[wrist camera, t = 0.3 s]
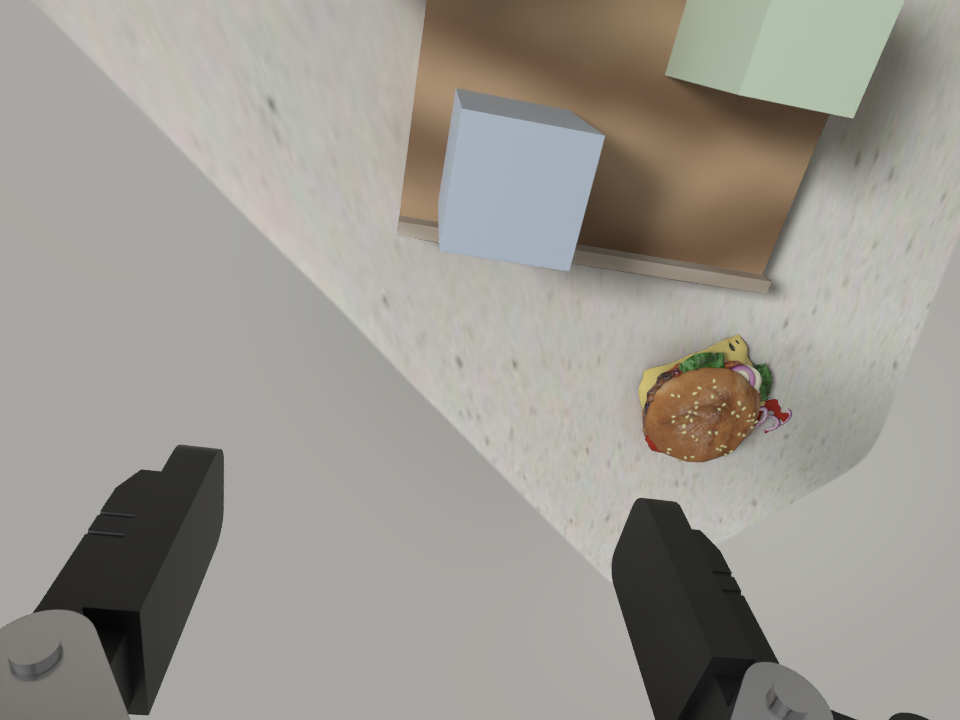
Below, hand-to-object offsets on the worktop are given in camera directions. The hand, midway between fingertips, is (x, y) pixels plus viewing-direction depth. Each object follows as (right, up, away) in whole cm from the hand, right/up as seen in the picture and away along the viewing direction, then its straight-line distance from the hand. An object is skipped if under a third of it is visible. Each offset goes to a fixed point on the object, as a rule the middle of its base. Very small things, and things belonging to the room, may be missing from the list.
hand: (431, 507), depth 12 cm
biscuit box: (+2, +14, +22) cm, 26 cm away
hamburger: (+18, 0, +33) cm, 38 cm away
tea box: (+14, +20, +19) cm, 31 cm away
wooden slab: (+9, +18, +22) cm, 30 cm away
